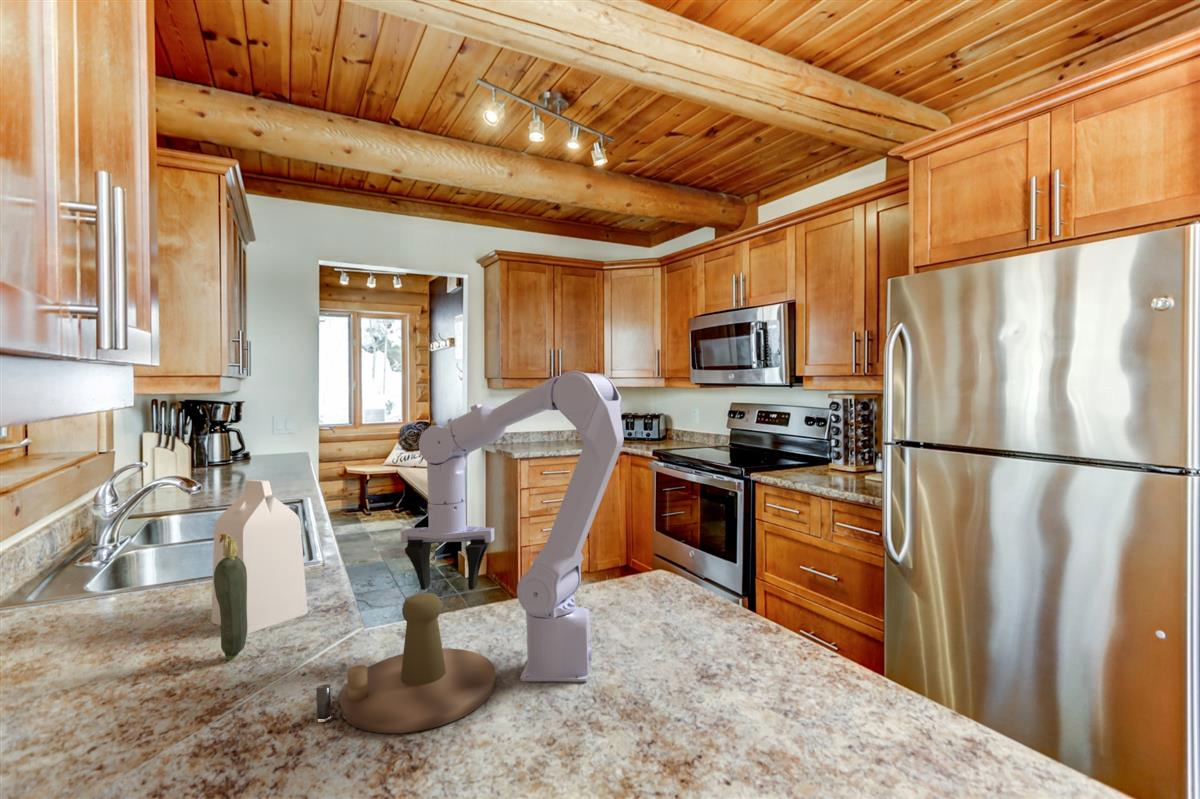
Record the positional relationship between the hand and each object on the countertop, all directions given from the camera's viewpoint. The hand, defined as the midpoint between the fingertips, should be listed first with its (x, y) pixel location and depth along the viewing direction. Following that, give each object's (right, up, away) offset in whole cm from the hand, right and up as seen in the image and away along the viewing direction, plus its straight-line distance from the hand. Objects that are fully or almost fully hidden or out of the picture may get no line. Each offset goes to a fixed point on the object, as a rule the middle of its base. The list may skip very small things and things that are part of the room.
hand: (449, 587), depth 90 cm
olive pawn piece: (-1, -9, -10) cm, 14 cm away
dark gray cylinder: (-3, -10, -13) cm, 17 cm away
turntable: (-1, -10, -12) cm, 16 cm away
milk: (-41, -12, +18) cm, 46 cm away
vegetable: (-34, -12, -1) cm, 36 cm away
